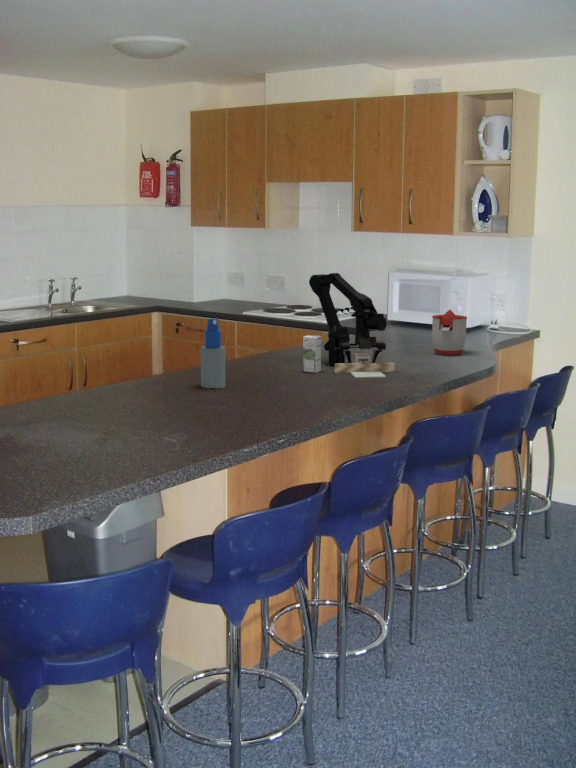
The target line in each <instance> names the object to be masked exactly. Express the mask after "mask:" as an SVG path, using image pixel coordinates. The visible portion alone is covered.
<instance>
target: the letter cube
mask: <svg viewBox="0 0 576 768" xmlns="http://www.w3.org/2000/svg"><path fill="white" fill-rule="evenodd" d="M352 355H353V356H352V363H371V360H372V356H371V355H370V354H369V353H353V354H352Z"/></svg>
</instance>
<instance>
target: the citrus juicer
mask: <svg viewBox="0 0 576 768" xmlns="http://www.w3.org/2000/svg"><path fill="white" fill-rule="evenodd" d="M431 318H432V325H431V327H432V328H431V329H432V330H431V341H432V346H433V350H434V353H435V354H437V355H441V356H442V355H445V356H453V357H456V356H458V355H461V354H462V353H463V351H464V347H465V345H466V340H467V339H466V338H467V322H468V321H467V319H468V316H467V315H466V316H465V315H461V314H455V313H454V311H452V310H451V309H448V310H447V311H446V312H445V313H444V314H433V315H432V316H431Z"/></svg>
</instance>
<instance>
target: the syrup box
mask: <svg viewBox="0 0 576 768" xmlns="http://www.w3.org/2000/svg"><path fill="white" fill-rule="evenodd" d="M321 359H322V336H321V335H315V334H306V335H304V336H302V372H303V373H314V374H317V373H319V372H321V371H322V360H321Z"/></svg>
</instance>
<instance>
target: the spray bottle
mask: <svg viewBox="0 0 576 768" xmlns="http://www.w3.org/2000/svg"><path fill="white" fill-rule="evenodd" d="M200 387H201V388H203V387H204V389H210V388H215V389H223V388H225V387H226V348H225V346H223V345H222V330H221V329H220V327H219V320H218V317H212V318H207V324H206V329H205V330H204V345H203V346H201V348H200Z"/></svg>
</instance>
